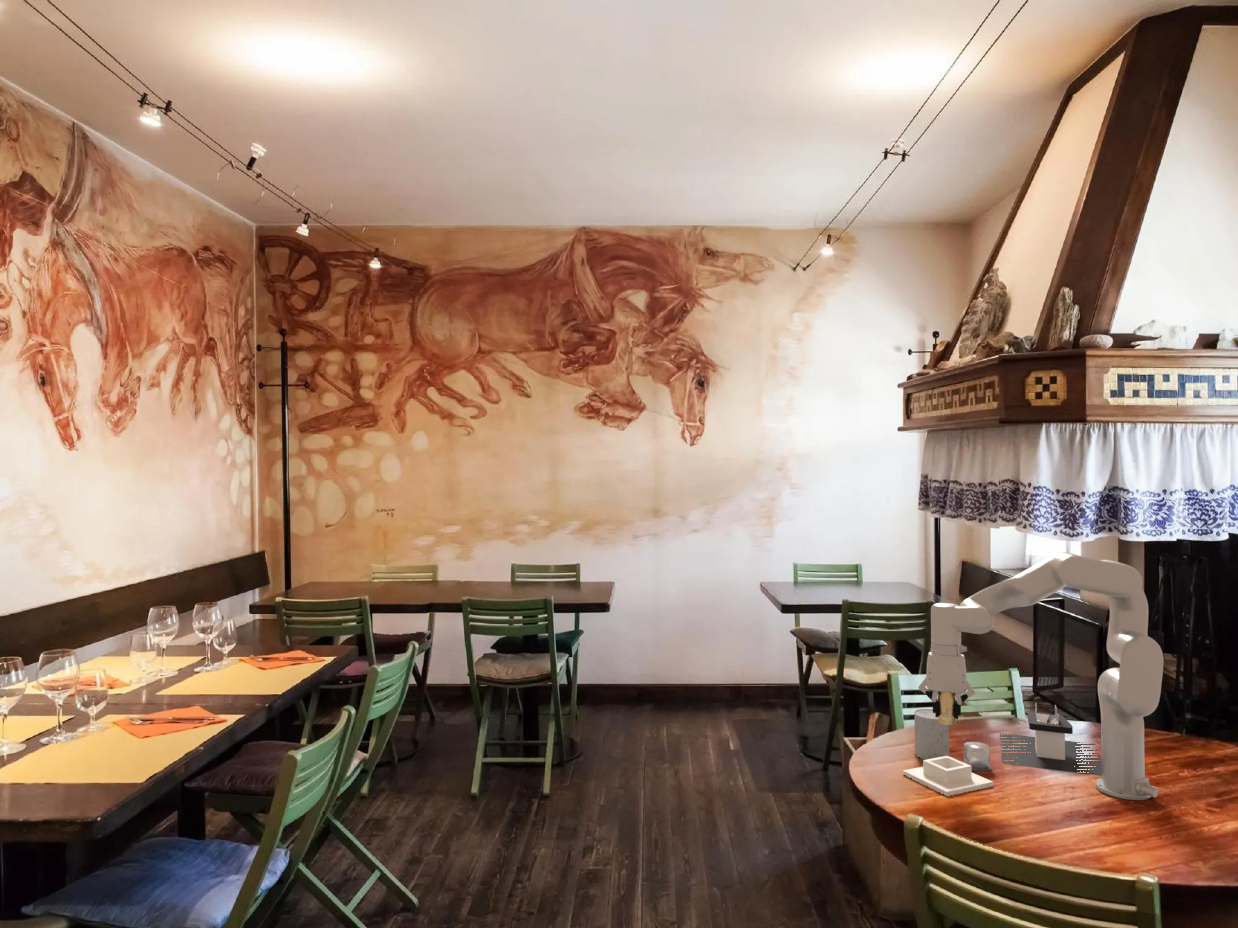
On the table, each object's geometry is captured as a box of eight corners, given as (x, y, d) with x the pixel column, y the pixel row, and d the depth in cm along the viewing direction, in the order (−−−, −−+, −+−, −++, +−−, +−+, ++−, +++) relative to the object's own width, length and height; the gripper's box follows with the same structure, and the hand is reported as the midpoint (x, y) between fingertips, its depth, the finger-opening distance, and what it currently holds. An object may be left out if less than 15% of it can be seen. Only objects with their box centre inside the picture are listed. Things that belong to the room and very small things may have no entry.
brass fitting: (959, 723, 217) (958, 690, 217) (946, 725, 215) (946, 692, 215) (946, 719, 221) (946, 686, 221) (934, 721, 219) (934, 688, 219)
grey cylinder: (943, 750, 241) (943, 709, 241) (953, 762, 231) (953, 719, 231) (910, 749, 242) (910, 708, 242) (919, 761, 232) (919, 718, 232)
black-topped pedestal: (1108, 777, 219) (1107, 728, 219) (1001, 763, 230) (1001, 716, 230) (1095, 744, 245) (1094, 700, 245) (999, 733, 256) (999, 691, 256)
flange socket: (993, 786, 214) (993, 768, 214) (947, 796, 208) (946, 778, 208) (947, 765, 228) (947, 749, 229) (903, 774, 222) (902, 757, 222)
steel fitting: (995, 769, 226) (995, 747, 226) (977, 773, 223) (977, 751, 223) (976, 761, 232) (976, 740, 232) (958, 764, 229) (958, 743, 229)
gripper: (979, 648, 218) (980, 716, 218) (913, 644, 225) (914, 709, 225) (980, 654, 211) (981, 724, 211) (912, 649, 218) (913, 717, 218)
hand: (946, 716), depth 218 cm, fingers closed on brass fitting, 4 cm apart
